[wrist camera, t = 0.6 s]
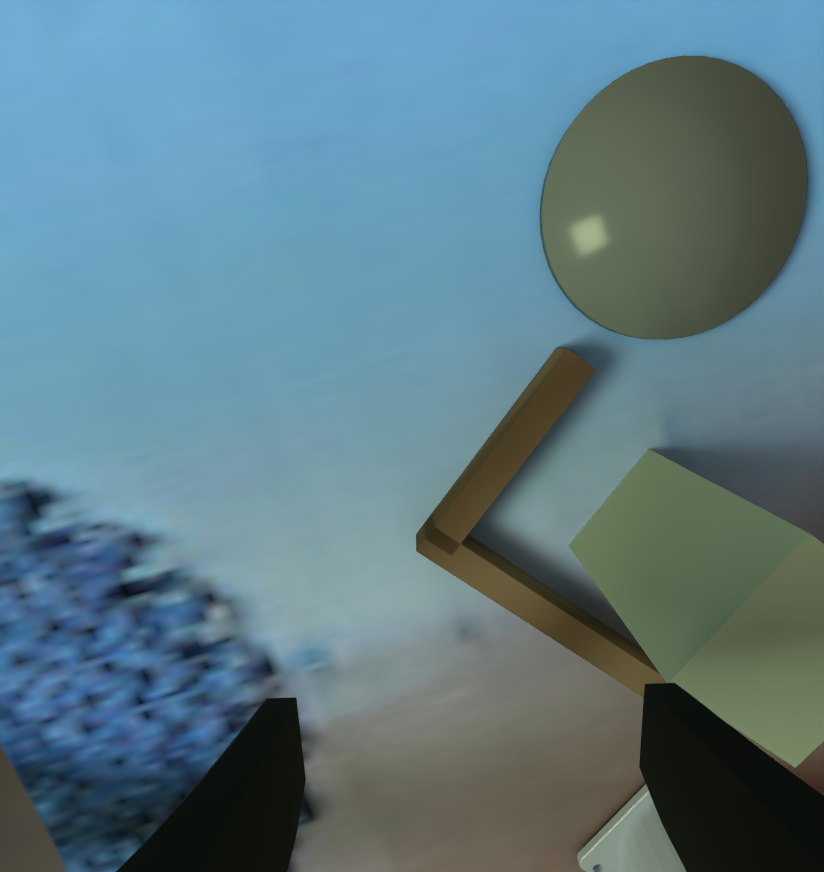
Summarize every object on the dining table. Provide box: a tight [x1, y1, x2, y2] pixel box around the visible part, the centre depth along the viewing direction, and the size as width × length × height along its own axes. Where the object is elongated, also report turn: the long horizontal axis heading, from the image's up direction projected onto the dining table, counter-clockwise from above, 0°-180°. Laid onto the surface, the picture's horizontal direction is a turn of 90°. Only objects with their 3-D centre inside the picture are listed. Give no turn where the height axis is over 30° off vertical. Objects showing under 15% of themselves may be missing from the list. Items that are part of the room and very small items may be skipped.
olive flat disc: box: [540, 56, 808, 339], centre depth 17 cm, size 9×9×1 cm
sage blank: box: [569, 449, 824, 768], centre depth 16 cm, size 4×5×8 cm
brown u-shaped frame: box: [416, 348, 734, 728], centre depth 19 cm, size 15×9×2 cm, turn 55°
